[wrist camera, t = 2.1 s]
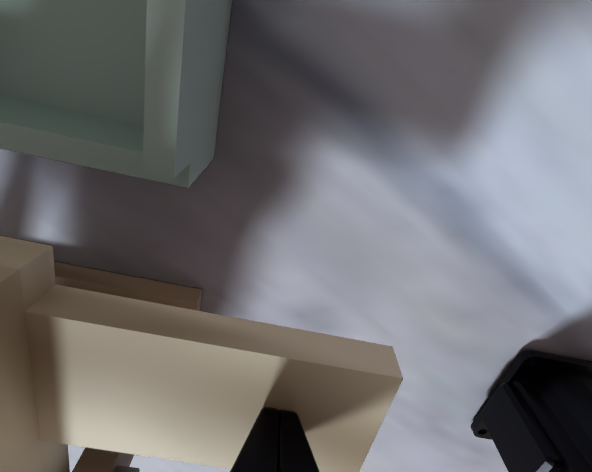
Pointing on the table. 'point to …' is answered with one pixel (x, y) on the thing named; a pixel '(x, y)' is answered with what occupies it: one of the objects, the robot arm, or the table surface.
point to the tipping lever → (169, 377)
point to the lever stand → (102, 463)
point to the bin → (114, 83)
